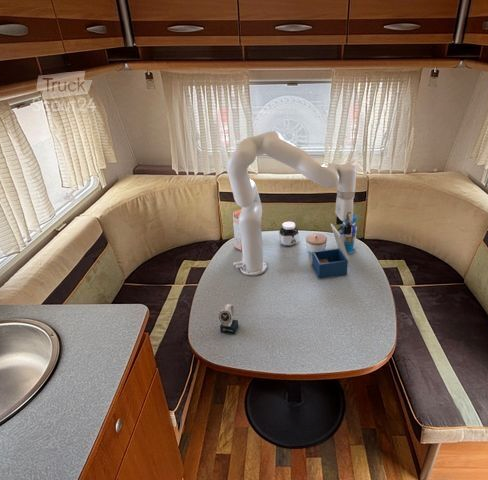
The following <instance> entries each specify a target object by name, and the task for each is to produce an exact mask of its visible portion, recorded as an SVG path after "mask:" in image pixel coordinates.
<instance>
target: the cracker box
mask: <svg viewBox="0 0 488 480" xmlns="http://www.w3.org/2000/svg"><path fill="white" fill-rule="evenodd" d="M241 210H242V208H240V209H237V210H235V211H232V224H233V237H234V248H236V249H237V250H239V251H240V252H242V242H241V233H240V227H239V217H240V213H241Z"/></svg>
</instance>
